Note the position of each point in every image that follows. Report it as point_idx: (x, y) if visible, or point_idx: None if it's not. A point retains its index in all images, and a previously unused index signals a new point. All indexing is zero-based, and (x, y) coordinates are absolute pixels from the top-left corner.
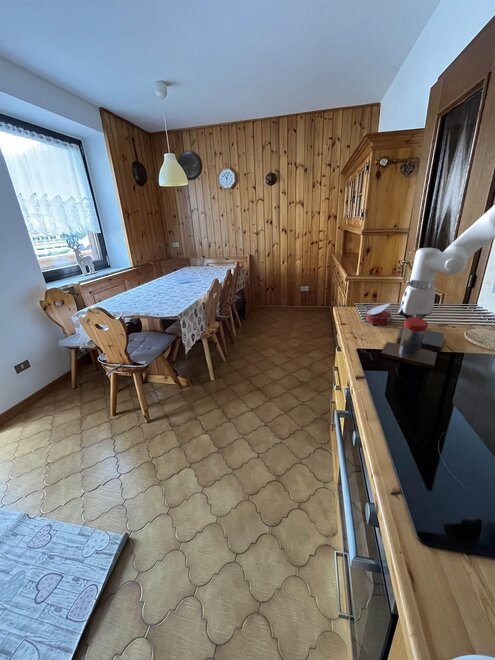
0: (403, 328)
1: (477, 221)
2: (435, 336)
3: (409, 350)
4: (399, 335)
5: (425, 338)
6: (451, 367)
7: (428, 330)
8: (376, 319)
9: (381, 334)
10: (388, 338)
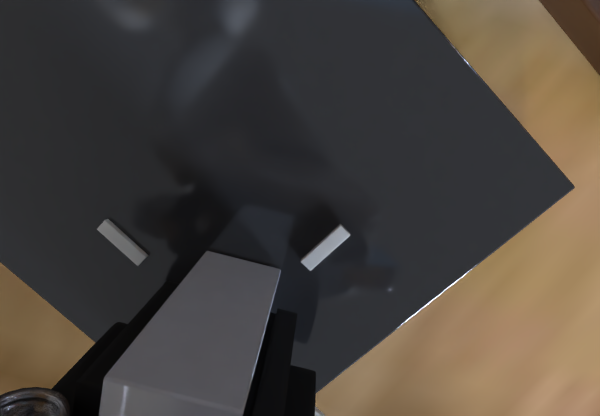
0: None
1: None
2: (14, 59)
3: None
4: (498, 240)
5: (197, 40)
6: None
7: (10, 247)
8: None
9: (528, 398)
10: (523, 301)
